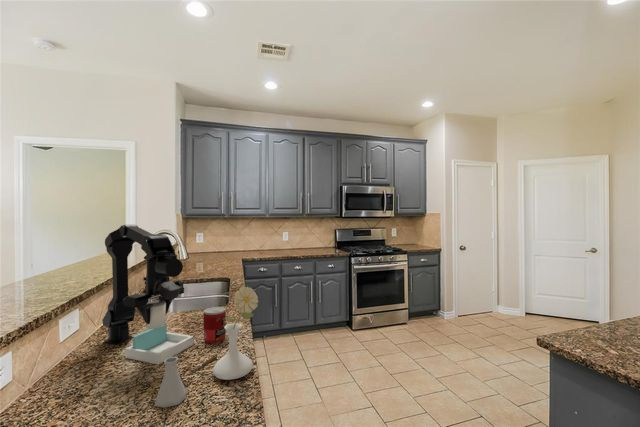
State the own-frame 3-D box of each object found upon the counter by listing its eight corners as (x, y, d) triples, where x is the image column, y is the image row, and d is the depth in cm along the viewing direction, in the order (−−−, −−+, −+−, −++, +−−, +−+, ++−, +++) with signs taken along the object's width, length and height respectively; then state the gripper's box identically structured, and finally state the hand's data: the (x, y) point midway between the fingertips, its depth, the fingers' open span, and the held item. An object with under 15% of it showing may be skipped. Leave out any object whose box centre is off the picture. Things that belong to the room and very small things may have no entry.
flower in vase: (215, 388, 78) (215, 294, 78) (210, 369, 88) (210, 286, 89) (263, 376, 84) (263, 288, 85) (253, 359, 94) (252, 281, 95)
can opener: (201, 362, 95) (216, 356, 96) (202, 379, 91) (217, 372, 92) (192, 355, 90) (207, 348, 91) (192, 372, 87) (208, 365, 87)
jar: (142, 327, 95) (142, 304, 95) (157, 321, 100) (157, 299, 100) (154, 329, 93) (155, 305, 93) (169, 323, 98) (169, 301, 98)
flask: (162, 391, 77) (162, 353, 77) (191, 390, 78) (191, 352, 78) (148, 409, 70) (148, 367, 70) (180, 407, 70) (180, 366, 70)
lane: (118, 356, 97) (118, 347, 97) (157, 338, 111) (157, 330, 111) (158, 364, 91) (158, 354, 91) (193, 344, 106) (193, 336, 106)
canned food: (218, 344, 106) (218, 313, 106) (199, 342, 107) (199, 312, 108) (229, 335, 113) (229, 307, 113) (210, 334, 115) (210, 306, 115)
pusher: (132, 354, 97) (133, 336, 97) (164, 339, 108) (164, 323, 108) (135, 355, 96) (135, 336, 96) (166, 340, 108) (166, 323, 108)
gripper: (149, 281, 85) (148, 335, 85) (196, 270, 103) (196, 315, 103) (122, 278, 89) (121, 329, 89) (172, 268, 107) (172, 311, 107)
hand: (155, 320), depth 97 cm, fingers closed on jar, 6 cm apart
